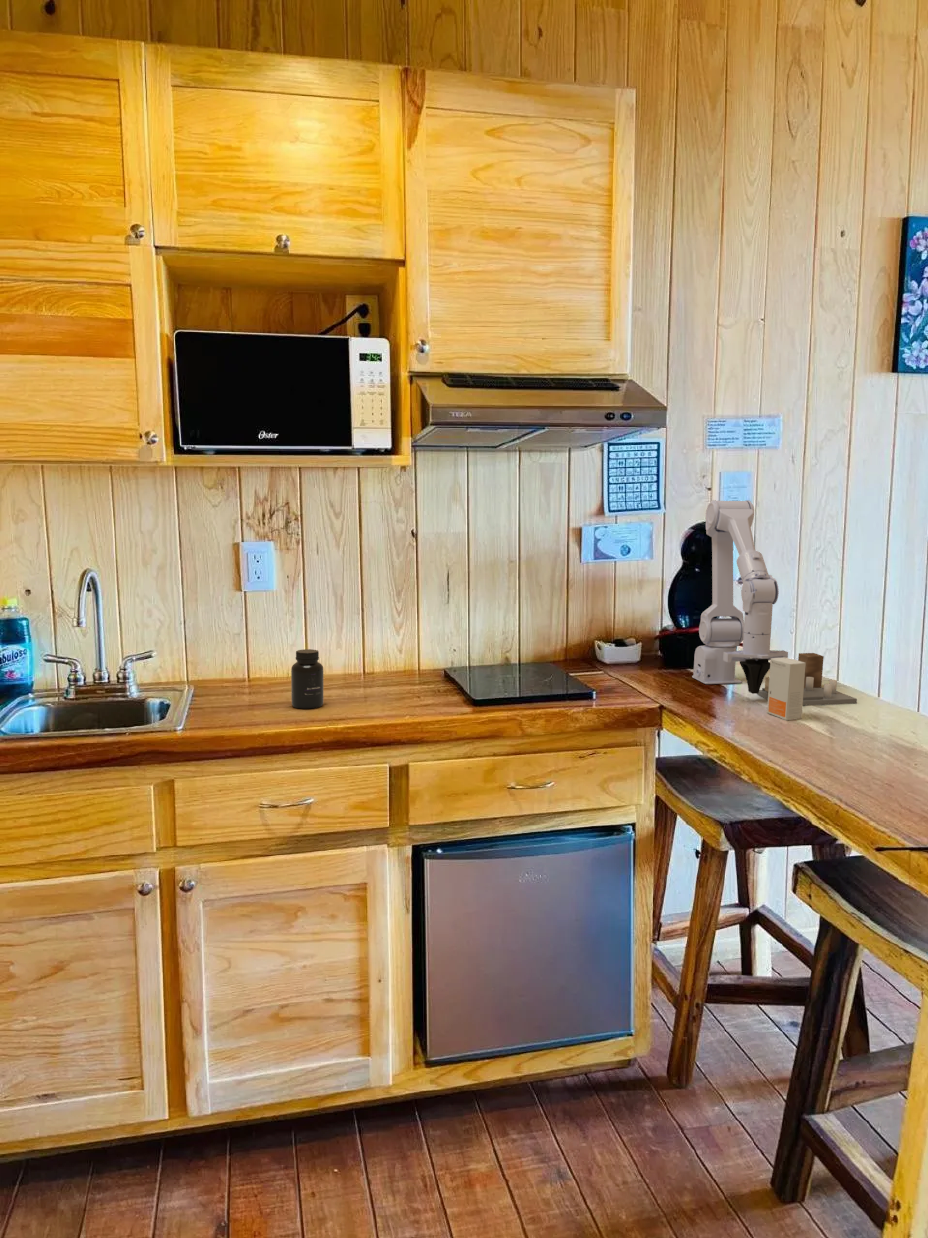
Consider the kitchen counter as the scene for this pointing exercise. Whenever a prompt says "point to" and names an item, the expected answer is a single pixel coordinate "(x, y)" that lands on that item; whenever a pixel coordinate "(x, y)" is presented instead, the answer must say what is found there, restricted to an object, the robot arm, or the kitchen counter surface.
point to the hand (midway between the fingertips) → (753, 692)
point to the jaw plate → (766, 684)
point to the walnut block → (812, 667)
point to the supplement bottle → (307, 680)
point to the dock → (820, 694)
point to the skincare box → (786, 688)
